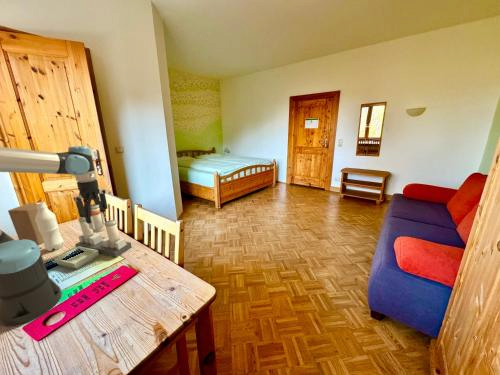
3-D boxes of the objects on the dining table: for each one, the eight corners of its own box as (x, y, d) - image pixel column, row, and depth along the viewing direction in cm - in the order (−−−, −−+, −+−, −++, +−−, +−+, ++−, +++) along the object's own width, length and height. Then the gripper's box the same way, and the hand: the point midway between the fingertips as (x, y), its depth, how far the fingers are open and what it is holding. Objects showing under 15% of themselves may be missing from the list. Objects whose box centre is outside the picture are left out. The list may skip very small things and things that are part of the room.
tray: (76, 269, 88) (74, 264, 88) (55, 264, 92) (53, 258, 91) (99, 255, 98) (98, 250, 97) (79, 251, 102) (78, 246, 101)
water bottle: (68, 244, 108) (54, 200, 101) (54, 252, 101) (39, 205, 94) (56, 243, 109) (41, 200, 101) (41, 251, 102) (25, 205, 94)
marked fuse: (97, 233, 98) (91, 208, 94) (90, 231, 99) (84, 207, 95) (106, 228, 102) (101, 204, 98) (99, 227, 103) (94, 203, 100)
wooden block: (38, 245, 108) (26, 210, 102) (20, 245, 108) (7, 210, 102) (56, 235, 117) (46, 203, 111) (39, 235, 117) (28, 203, 112)
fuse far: (89, 243, 103) (82, 220, 99) (82, 242, 104) (76, 219, 100) (98, 239, 107) (92, 216, 103) (91, 238, 108) (85, 215, 104)
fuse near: (115, 249, 98) (109, 224, 94) (108, 247, 99) (102, 223, 95) (123, 244, 102) (118, 220, 98) (116, 242, 103) (111, 219, 100)
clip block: (116, 257, 96) (113, 246, 94) (76, 249, 103) (73, 238, 101) (131, 247, 104) (129, 236, 103) (93, 240, 112) (91, 229, 110)
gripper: (72, 185, 84) (85, 236, 91) (110, 176, 100) (119, 219, 107) (59, 184, 86) (72, 233, 93) (99, 175, 102) (108, 218, 109)
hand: (97, 226), depth 100 cm, fingers closed on marked fuse, 4 cm apart
